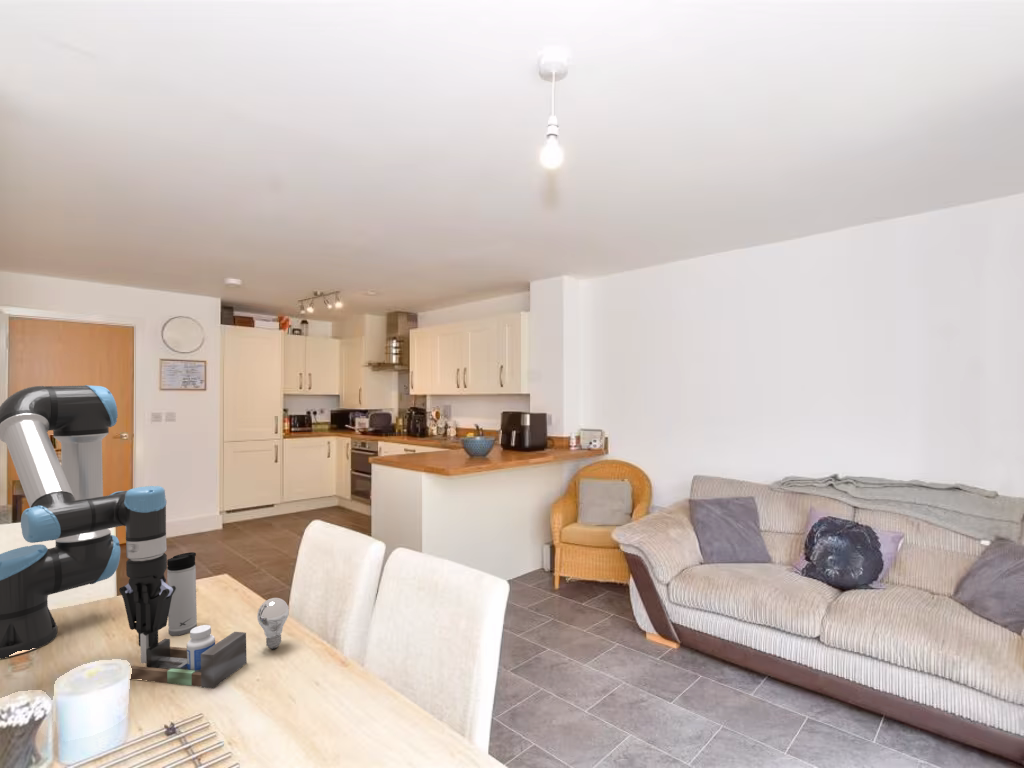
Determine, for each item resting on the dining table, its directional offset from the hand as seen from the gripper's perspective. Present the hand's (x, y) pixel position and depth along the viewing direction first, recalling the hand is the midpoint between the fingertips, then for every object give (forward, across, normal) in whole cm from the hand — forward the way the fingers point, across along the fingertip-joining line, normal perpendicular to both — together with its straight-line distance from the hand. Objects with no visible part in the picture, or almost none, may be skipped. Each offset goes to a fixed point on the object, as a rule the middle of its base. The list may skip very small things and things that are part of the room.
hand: (148, 660), depth 117 cm
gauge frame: (+2, +9, 0) cm, 9 cm away
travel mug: (+2, -7, +17) cm, 19 cm away
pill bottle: (+2, +14, 0) cm, 14 cm away
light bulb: (+2, +23, +12) cm, 26 cm away
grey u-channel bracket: (+1, +6, 0) cm, 7 cm away
